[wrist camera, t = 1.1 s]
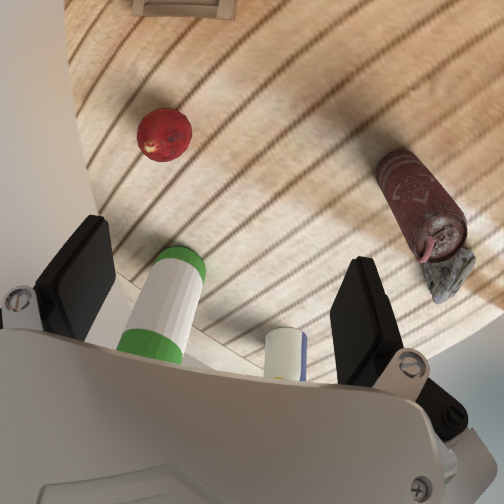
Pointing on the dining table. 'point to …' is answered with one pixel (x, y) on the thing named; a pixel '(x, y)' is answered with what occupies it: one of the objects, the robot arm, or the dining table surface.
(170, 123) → the onion
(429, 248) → the can
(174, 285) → the wine bottle
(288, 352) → the white spray bottle
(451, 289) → the fossilized seashell
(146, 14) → the wooden square tray
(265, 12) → the dining table surface
